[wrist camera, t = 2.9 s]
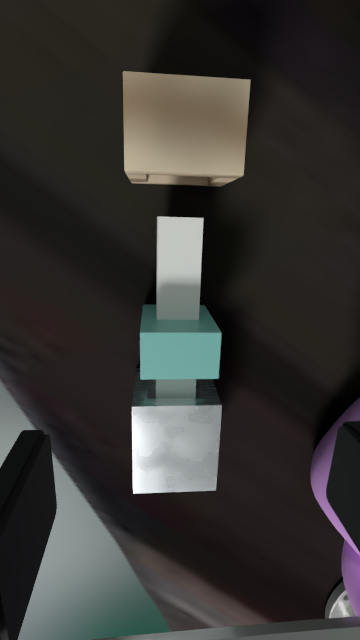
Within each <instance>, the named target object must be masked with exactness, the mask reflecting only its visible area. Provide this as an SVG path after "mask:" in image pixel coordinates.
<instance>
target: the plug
mask: <svg viewBox="0 0 360 640" xmlns="http://www.w3.org/2000/svg"><path fill="white" fill-rule="evenodd" d="M202 240H203V218H188V217H157V277H156V305H143V310H142V319H141V329H140V380H148V379H156V388H155V399H167V398H195V392H196V379H219V364H220V349H221V334H222V333H221V331H220V329H219V328H218V326H217V324H216V323H215V321H214V320H213V318H212V316H211V315H210V313H209V312H208V310H207V308H206V307H205V305H200V283H201V262H202Z"/></svg>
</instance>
